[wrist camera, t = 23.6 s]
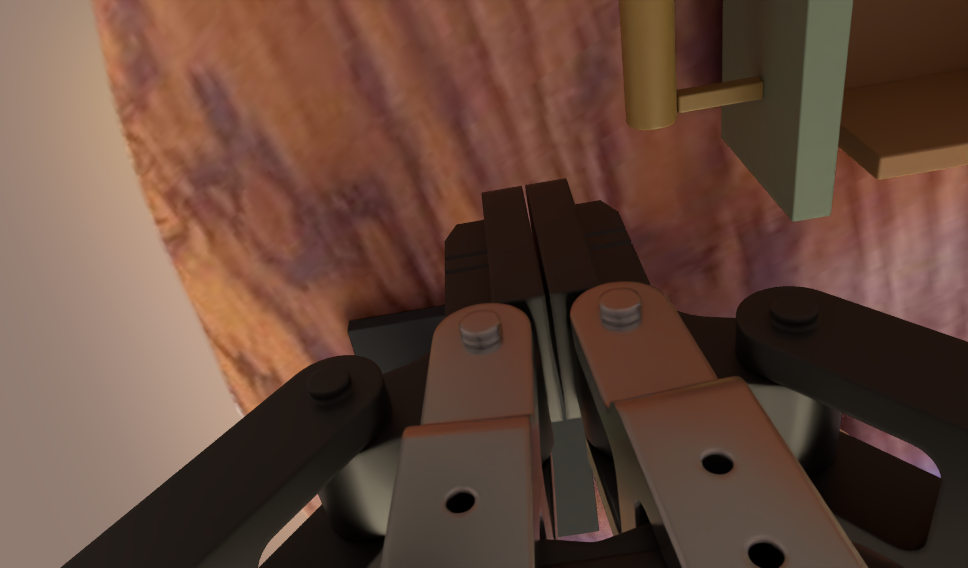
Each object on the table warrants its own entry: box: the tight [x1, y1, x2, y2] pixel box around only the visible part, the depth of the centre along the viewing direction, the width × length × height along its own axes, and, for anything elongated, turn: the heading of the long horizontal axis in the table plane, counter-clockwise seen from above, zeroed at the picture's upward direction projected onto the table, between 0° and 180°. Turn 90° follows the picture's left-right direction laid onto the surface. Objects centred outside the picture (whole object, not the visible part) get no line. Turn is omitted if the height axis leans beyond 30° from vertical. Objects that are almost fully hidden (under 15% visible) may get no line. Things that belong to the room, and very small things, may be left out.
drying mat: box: [347, 306, 599, 537], centre depth 37 cm, size 16×10×1 cm, turn 9°
